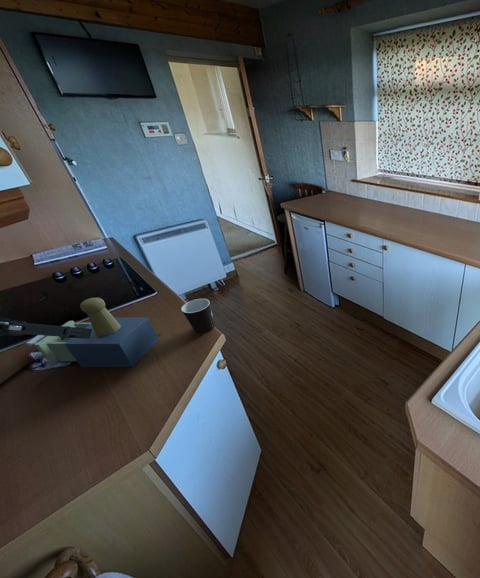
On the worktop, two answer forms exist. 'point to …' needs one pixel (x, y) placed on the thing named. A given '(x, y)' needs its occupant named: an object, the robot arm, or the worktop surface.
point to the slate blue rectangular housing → (115, 345)
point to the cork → (99, 317)
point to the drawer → (55, 345)
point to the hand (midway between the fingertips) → (66, 332)
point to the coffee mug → (199, 315)
